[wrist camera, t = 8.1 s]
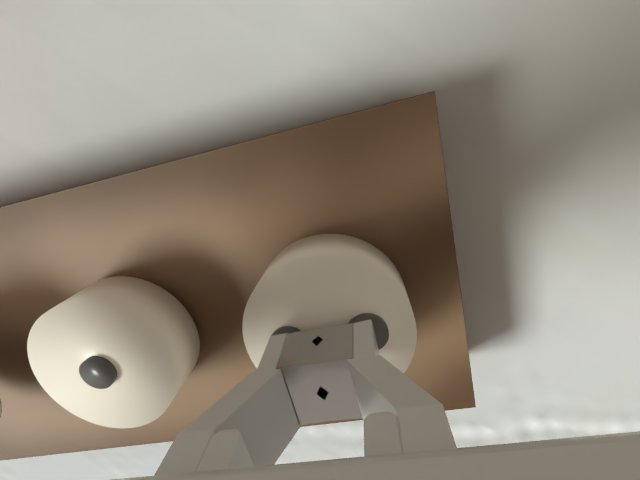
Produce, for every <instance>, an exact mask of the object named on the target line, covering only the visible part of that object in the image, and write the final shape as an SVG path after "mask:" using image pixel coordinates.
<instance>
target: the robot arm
mask: <svg viewBox="0 0 640 480" xmlns="http://www.w3.org/2000/svg"><path fill="white" fill-rule="evenodd" d="M359 418H363V421H364V454H365V457H354V458H343V459H332V460H321V461H310V462H299V463H289V464H278V465H274V464H275V462H276V461H277V459H278V458H279V456H280V455H281V454H282V452H283V451H284V449H285V448H286V446H287V445H288V444H289V442H290V441H291V439H292V438H293V436H294V435H295V433H296V432H297V431H298V429H299V428H300V426H299V425H305V424H312V423H319V422H326V421H335V420H347V419H359ZM113 480H640V431H639V432H628V433H617V434H606V435H595V436H584V437H573V438H562V439H551V440H540V441H530V442H520V443H510V444H498V445H487V446H476V447H465V448H457V447H456V444H455V441H454V438H453V435H452V432H451V429H450V426H449V423H448V420H447V416H446V413H445V410H444V407H443V404H442V403H440V402H439V401H438V400H437V399H435V398H434V397H433V396H431V395H430V394H429V393H428V392H426V391H425V390H424V389H423V388H421V387H420V386H419V385H418V384H416V383H415V382H414V381H412V380H411V379H410V378H409V377H407V376H406V375H405V374H404V373H402V372H401V371H400V370H399V369H397V368H396V367H395V366H394V365H392V364H391V363H390V362H388V361H387V360H386V359H385V358H383V357H382V356H381V355H380V354H379V349H378V345H377V340H376V336H375V331H374V327H373V323H372V321H371V319H370V320H365V321H360V322H355V323H350V324H345V325H339V326H334V327H328V328H323V329H321V328H320V329H313V330H306V331H298V332H291V333H284V334H278V335H273V336H271V337H270V338H269V341H268V343H267V346H266V348H265V351H264V353H263V356H262V358H261V361H260V363H259V366H258V368H257V371H256V372H255V373H250V374H249V375H248V376H247V377H246V378H244V379H243V380H242V381H241V382H240V383H238V384H237V385H236V386H235V387H234V388H232V389H231V390H230V391H229V392H228V393H226V394H225V395H224V396H223V397H222V398H220V399H219V400H218V401H217V402H216V403H214V404H213V405H212V406H211V407H210V408H208V409H207V410H206V411H205V412H203V413H202V414H201V415H200V416H199V417H197V418H196V419H195V420H194V421H193V422H191V423H190V424H189V425H188V426H187V427H185V428H184V429H183V430H182V431H181V432H179V433H178V435H177V436H176V438H175V440H174V442H173V443H172V445H171V447H170V449H169V450H168V452H167V454H166V456H165V457H164V459H163V461H162V463H161V464H160V466H159V468H158V470H157V471H156V473H155V475H154V476H147V477H136V478H124V479H113Z"/></svg>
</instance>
